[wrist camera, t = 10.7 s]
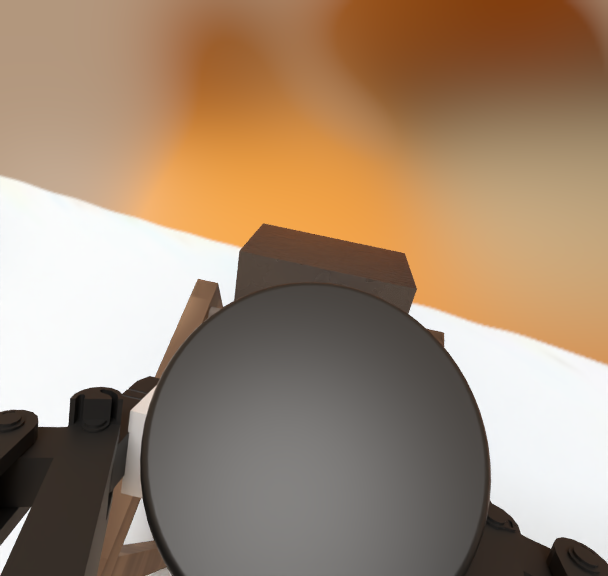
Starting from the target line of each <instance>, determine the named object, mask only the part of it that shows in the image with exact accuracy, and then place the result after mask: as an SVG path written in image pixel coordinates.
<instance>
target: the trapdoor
mask: <svg viewBox="0 0 608 576" xmlns="http://www.w3.org/2000/svg"><path fill="white" fill-rule="evenodd" d="M300 282H319V283H331V284H337V285H343V286H347V287H351V288H355V289H358V290H361V291H364V292H367V293H370V294H372V295H375V296H377V297H379V298H382V299H383V300H385V301H387V302H389V303H391V304H393V305H395V306H396V307H398V308H400V309H401V310H403V311H404V312H406V313H407V314H408V313H409V310H410V307H411V304H412V301H413V299H414V295H415V293H416V290H417V288H416V285H415V282H414V279H413V276H412V273H411V271H410V268H409V265H408V262H407V259H406V256H405V254H404V253H401V252H396V251H391V250H386V249H381V248H376V247H372V246H368V245H362V244H357V243H353V242H349V241H344V240H339V239H334V238H330V237H325V236H320V235H315V234H310V233H306V232H301V231H296V230H291V229H287V228H282V227H277V226H273V225H268V224H262V226H261V227H260V228H259V229H258V230H257V231H256V233H255V234H254V235H253V236H252V237H251V238H250V239H249V241H248V242H247V243H246V244H245V245H244V246H243V248H242V249H241V250H240V252H239V261H238V271H237V280H236V289H235V299H234V301H235V300H237V299H239V298H241V297H243V296H246V295H248V294H250V293H253V292H256V291H259V290H262V289H265V288H269V287H273V286H277V285H283V284H289V283H300Z"/></svg>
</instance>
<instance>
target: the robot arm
mask: <svg viewBox="0 0 608 576" xmlns="http://www.w3.org/2000/svg"><path fill="white" fill-rule="evenodd" d="M159 380H160V379H159V378H155V377H151V376H149V377H146V378H144V379H141V380H139V381H137V382H136V383H134V384H133V385H132V386H131V387H130V388H129V389H128V390H126V391H125V392H124V393H123V394H121V393H120V392H119V391H118V390H115V389H112V388H106V387H94V388H89V389H84V390H82V391H80V392H78V393H76V394H74V395H73V396H72V398H71V399H70V412H69V425H68V427H38V416H37V415H35V414H34V413H33V412H30V411H26V410H9V411H8V410H7V411H2V412H0V545H1V544H2V543H3V542H4V540H5V539H6V538H7V537H8V535H9V534H10V533H11V532H12V530H13V529H14V528H15V527H16V525H17V524H18V523H19V521H20V520H21V519H22V518H23V516H24V515H25V514H26V513H27V511H28V510H29V509H30V507H31V509H30V511H29V514H28V516H27V518H26V520H25V522H24V525H23V527H22V529H21V531H20V534H19V536H18V538H17V540H16V542H15V545H14V547H13V549H12V551H11V553H10V556H9V558H8V560H7V562H6V565H5V567H4V569H3V571H2V573H1V576H97V572H98V567H99V562H100V557H101V553H102V548H103V543H104V538H105V533H106V529H107V524H108V519H109V514H110V510H111V505H112V500H113V491H114V487H115V486H116V485H117V484H118V482H119V481H120V480H121V479H122V478H123V480H122V489H121V493H123V494H127V495H131V496H135V497H139V498H143V497H142V489H141V480H140V453H141V441H142V435H143V429H144V423H145V419H146V415H147V411H148V408H149V404H150V401H151V399H152V396H153V393H154V391H155V388H156V386H157V384H158V382H159ZM465 576H608V564H607V563H606V561H605V560H604V559H602V558H601V557H600V556H599V555H598V554H597V553H596V552H595V551H593V550H592V549H590V548H588V547H587V546H586V545H584V544H582V543H579V542H577V541H575V540H573V539H568V538H564V537H562V538H557V539H556V540H555V542H554V543H553V546H552V548H551V549H550V548H548V547H546V546H544V545H541V544H539V543H537V542H535V541H533V540H531V539H529V538H527V537H525V536H523V535H521V533H520V530H519V527H518V525H517V523H516V522H515V521H514V519H513V518H512V517H511V516H510V515H508V514H507V513H506V512H505V511H504V510H502V509H501V508H499V507H497V506H496V505H494V504H492V503H491V501H490V502H489V508H488V515H487V520H486V524H485V528H484V532H483V536H482V539H481V542H480V544H479V547H478V550H477V552H476V555H475V558H474V560H473V562H472V564H471V566H470V568H469V570H468V572H467V574H466V575H465Z"/></svg>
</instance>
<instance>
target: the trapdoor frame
mask: <svg viewBox="0 0 608 576" xmlns="http://www.w3.org/2000/svg"><path fill="white" fill-rule="evenodd" d="M221 308H223V305H222V300H221V295H220V291H219V286H218V283H215V282H210V281H205V280H201V279H198V280H197V282H196V284H195V287H194V289H193V291H192V294H191V296H190V298H189V300H188V303H187V305H186V307H185V310H184V312H183V314H182V316H181V319H180V321H179V323H178V325H177V328H176V330H175V332H174V335H173V337H172V339H171V341H170V344H169V346H168V348H167V351H166V353H165V355H164V357H163V360H162V362H161V364H160V367H159V369H158V371H157V373H156V376H155V378H159V379H160V377H161V375H162V373H163V372H164V370H165V368H166V366H167V365H168V363H169V361H170V360H171V358H172V357H173V355H174V354H175V353H176V351H177V350H178V348H179V347H180V346H181V345H182V343H183V342H184V341H185V340H186V339H187V338H188V336H189V335H190V334H191V333H192V332H193V331H194V330H195V329H196V328H197V327H198V326H199V325H200V324H202V323H203V322H204V321H205V320H206V319H208V318H209V317H210V316H211V315H213V314H214V313H216V312H217V311H218V310H220V309H221ZM427 330H428V331H429V332H430V333H431V334H432V335H433V336H434V337H435V338H436V339H437V340H438V341H439V342H440V343H441V345H442V346H443V347H444V333H443V332H438V331H434V330H429V329H427ZM122 480H123V478H122V479H121V480H120V481H119V482H118V484H117V485H116V486H115V487H114V491H113V500H112V505H111V510H110V514H109V519H108V524H107V529H106V533H105V538H104V543H103V548H102V553H101V557H100V562H99V567H98V572H97V576H146V575H148V574H151V573H153V572H156V571H158V570H160V569H163V568H165V567H167V566H166V564H165V563H164V561H163V559H162V557H161V555H160V552H159V550H158V548H157V546H156V544H155V541H149V542H142V543H135V544H128V545H123V543H124V540H125V538H126V535H127V533H128V530H129V528H130V525H131V522H132V520H133V517H134V515H135V512H136V510H137V507H138V504H139V502H140V499H141V498H139V497H135V496H131V495H127V494H123V493H121V489H122Z"/></svg>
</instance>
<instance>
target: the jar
mask: <svg viewBox="0 0 608 576" xmlns="http://www.w3.org/2000/svg"><path fill="white" fill-rule="evenodd" d="M140 480H141V489H142V497H143V503H144V507H145V512H146V516H147V521H148V524H149V527H150V530H151V533H152V536H153V538H154V541H155V544H156V546H157V548H158V550H159V552H160V555H161V557H162V559H163V561H164V563H165V564H166V566H167V568H168V570H169V571H170V573H171V575H172V576H465V575H466V574H467V572H468V570H469V568H470V566H471V564H472V562H473V560H474V558H475V555H476V552H477V550H478V547H479V544H480V542H481V539H482V536H483V532H484V528H485V524H486V520H487V515H488V508H489V502H490V489H491V465H490V455H489V447H488V441H487V436H486V431H485V427H484V423H483V420H482V417H481V413H480V410H479V408H478V405H477V403H476V400H475V398H474V395H473V393H472V391H471V389H470V387H469V385H468V383H467V381H466V379H465V377H464V376H463V374H462V372H461V370H460V369H459V367H458V366H457V364H456V363H455V361H454V360H453V359H452V357H451V356H450V354H449V353H448V352H447V351H446V349H445V348H444V347H443V346H442V345H441V343H440V342H439V341H438V340H437V339H436V338H435V337H434V336H433V335H432V334H431V333H430V332H429V331H428V330H427V329H426V328H425V327H424V326H422V325H421V324H420V323H419V322H418V321H417V320H415V319H414V318H413V317H411V316H410V315H409V314H407V313H406V312H404V311H403V310H401V309H400V308H398V307H396V306H395V305H393V304H391V303H389V302H387V301H385V300H383V299H382V298H379V297H377V296H375V295H372V294H370V293H367V292H364V291H361V290H358V289H355V288H351V287H347V286H343V285H337V284H331V283H319V282H300V283H289V284H283V285H277V286H273V287H269V288H265V289H262V290H259V291H256V292H253V293H250V294H248V295H246V296H243V297H241V298H239V299H237V300H235V301H233V302H231V303H230V304H228V305H226V306H224V307H223V308H221V309H220V310H218V311H217V312H216V313H214V314H213V315H211V316H210V317H209V318H208V319H206V320H205V321H204V322H203V323H202V324H200V325H199V326H198V327H197V328H196V329H195V330H194V331H193V332H192V333H191V334H190V335H189V336H188V338H187V339H186V340H185V341H184V342H183V343H182V345H181V346H180V347H179V348H178V350H177V351H176V353H175V354H174V355H173V357H172V358H171V360H170V361H169V363H168V365H167V366H166V368H165V370H164V372H163V373H162V375H161V377H160V380H159V382H158V384H157V386H156V388H155V391H154V393H153V396H152V399H151V401H150V404H149V408H148V411H147V415H146V419H145V423H144V429H143V435H142V441H141V453H140Z"/></svg>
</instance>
